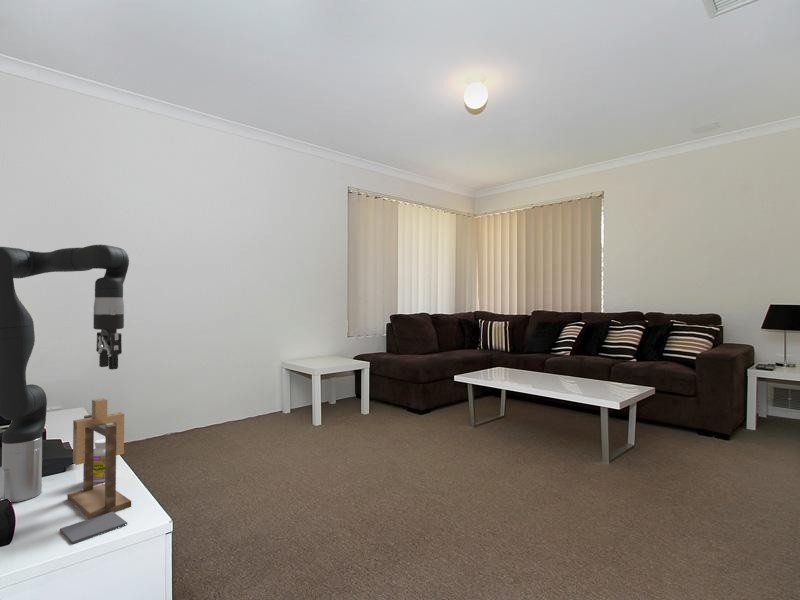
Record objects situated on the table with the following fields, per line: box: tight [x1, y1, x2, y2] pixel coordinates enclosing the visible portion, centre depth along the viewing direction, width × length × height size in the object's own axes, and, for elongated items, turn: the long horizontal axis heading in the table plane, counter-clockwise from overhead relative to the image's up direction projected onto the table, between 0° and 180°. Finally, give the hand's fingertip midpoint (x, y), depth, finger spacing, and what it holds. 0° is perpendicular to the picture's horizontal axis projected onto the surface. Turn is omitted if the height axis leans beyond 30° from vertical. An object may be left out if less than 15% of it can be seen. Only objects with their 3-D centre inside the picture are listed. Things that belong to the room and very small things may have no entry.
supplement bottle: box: [93, 438, 105, 484], centre depth 147 cm, size 7×7×13 cm
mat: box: [59, 512, 128, 545], centre depth 115 cm, size 12×10×1 cm
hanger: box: [72, 398, 125, 466], centre depth 130 cm, size 12×3×17 cm, turn 141°
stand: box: [67, 414, 132, 519], centre depth 130 cm, size 10×20×24 cm, turn 51°
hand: (108, 368), depth 130 cm, fingers open, 8 cm apart
